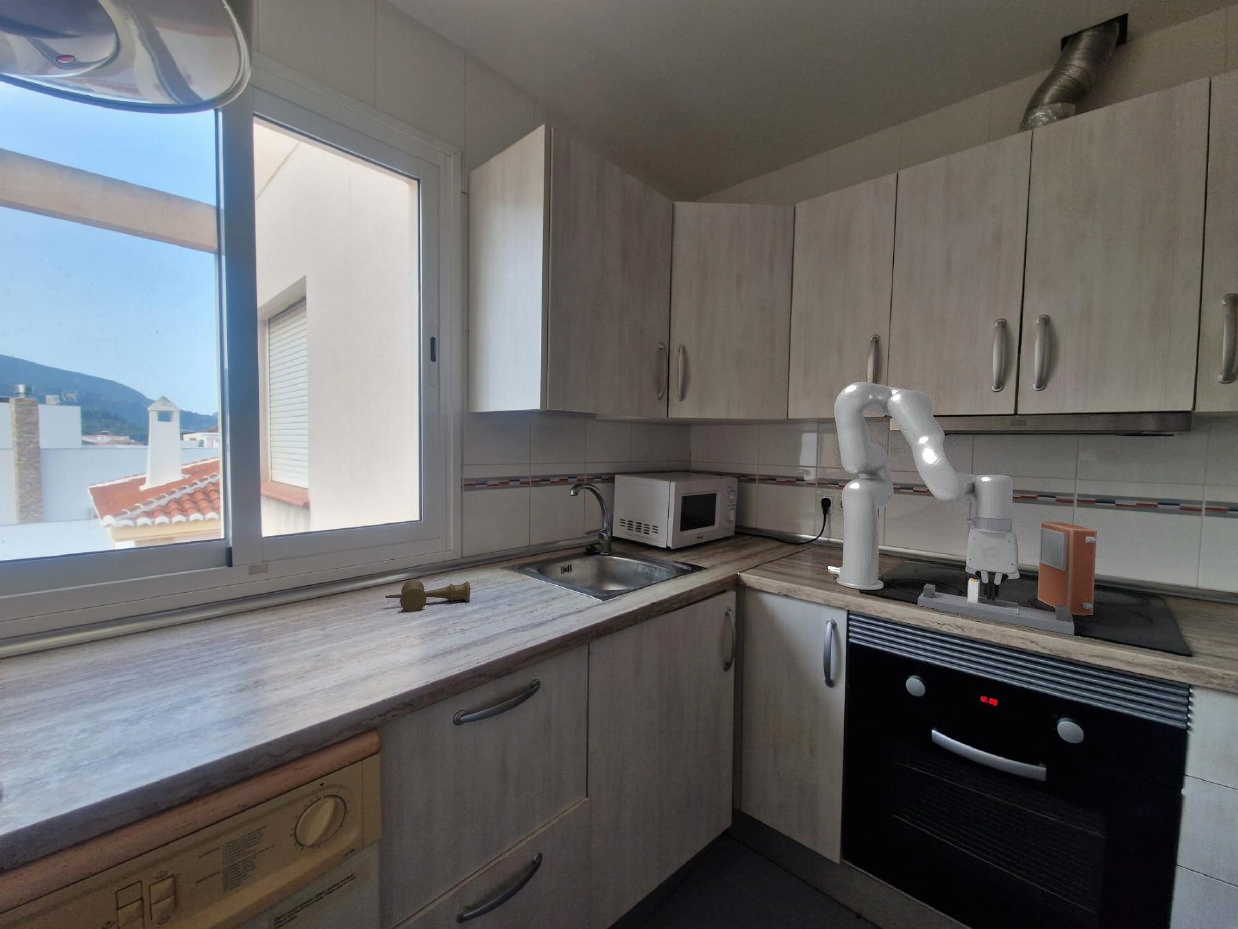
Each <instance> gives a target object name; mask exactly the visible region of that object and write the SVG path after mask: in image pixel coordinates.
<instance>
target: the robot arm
mask: <svg viewBox="0 0 1238 929" xmlns="http://www.w3.org/2000/svg"><path fill="white" fill-rule="evenodd" d="M933 409H934V403H933V400H932V398H931V397H930V396H929V395H928V394H926V393H925V392H924V391H920V390H913V389H904V388H899V387H894V386H889V385H885V384H878V383H874V382H868V381H857V382H854V383H853V382H852V383H850V384H848V385H847V386H846V387H844V388H843V389H842V390H841V391H840V392H839V394H838V395H837V397H836V400H835V402H834V406H833V413H834V420H835V426H836V431H837V440H838V441H837V442H838V446H839V447H838V448H839V454H840V461H841V465H842V468H843V469H844V471H846V472H847V473H849V474H852V475H858V476H859V478H855V479H853V480H850V481H849V482H847V483H846V484H845V485H844V487H843V489H842V492H841V504H842V505H841V506H842V510H843V511H842V512H843V543H842V545H843V548H842V550H843V551H842V566H839V567H837V566H833V565H829V566H828V569H827V570H828V572H829V574H833V575H838V576H837V577H836V582H837V583H838V584H839V585H840V586H844V587H847V588H852V589H855V590H856V589H857V590H868V591H870V590H871V591H872V590H874V591H875V590H881V589H883V588H884V582H883V581H881V580H879V555H880V554H879V553H880V550H879V549H880V548H879V547H880V521H879V520H880V519H879V515H878V511H877V510H879V509H883V508H886V507H888V505H890V504H891V503H892V501H893V499H894V494H895V493H894V485H893V484H894V483H893V476H892V471H891V470H892V469H891V464H890V459H889V456H888V454H887V452H886V450H885V448H883V447H882V446H881V445H879V444H877V443H872V442H871V438H870V433H869V432H870V431H869V425H868V424H867V423H868V422H866V419H865V416H864V413H865V412H867V413H877V414H881V415H885V416H890V417H891V418H892V419H893V421H894V422H895V424H896V426H897V427H898V428H899V430H900V432H901V433H902V435H903V437H904V439H905V440H906V442H907V443H908V444H909V447H910V448H911V452H912V457H913V460H914V465H915V467H916V470H917V472H918V475H919V476H920V478H921V479H922V481H923V482H924V484H925V486H926V487H927V489H928V490H929V492H930V493H931V494H932V495H933V497H934V498H936V500H938V501H939V502H943V503H946V504H954V503H955V504H956V503H963V502H974V503H973V504H974V506H973V507H974V508H973V511H974V512H973V517H970V518H969V517H968V518H966V524H968V525H972V526H973V528H972V527H971V528H970V529H969V532H968V536H967V545H966V554H965V555H966V557H965V558H966V560H965V562H966V566H965V571H964V572H967V573H968V574H972V575H975V576H977V578H978V579H979V580H981V581H982V583H983V595H984V596H986V598H987V600H993V601H995V599H996V598H999V597H1000V584H1002V583H1003V582H1005V581H1006V580H1011V579H1012V580H1013V579H1020V572H1019V546H1018V538H1017V534H1016V532H1015V531H1013V490H1014V488H1013V485H1014V483H1013V478H1011V476H1009V475H1004V474H973V473H966V472H956V470H955V469H954V467H953V466H952V465H951V463H950V461H949V460H948V458H947V456H946V453H945V450H944V440H945V438H946V437H945V436H946V435H945V431H944V430H943V429H942V427H941V425H940V424H939V423H938V422H937V420H936V418H935V417H934V415H933V414H932V412H933ZM989 573H995V576H994V579H993V580H992V582H991V579H990V577H989Z"/></svg>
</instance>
